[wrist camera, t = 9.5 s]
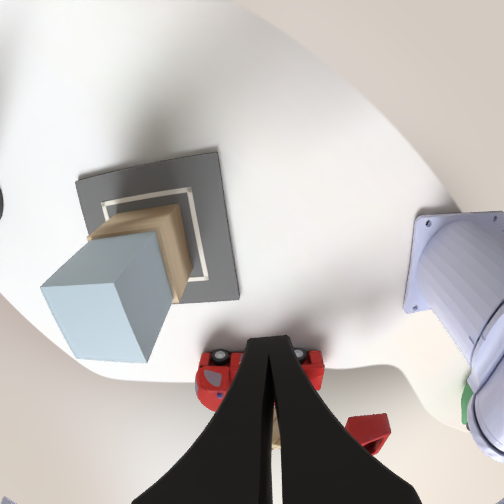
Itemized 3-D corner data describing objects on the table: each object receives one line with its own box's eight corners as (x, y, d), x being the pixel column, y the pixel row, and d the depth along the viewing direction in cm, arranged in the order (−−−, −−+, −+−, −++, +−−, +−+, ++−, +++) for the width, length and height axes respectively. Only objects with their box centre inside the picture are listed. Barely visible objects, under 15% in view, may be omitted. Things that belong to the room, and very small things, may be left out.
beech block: (179, 203, 18) (159, 226, 14) (192, 268, 20) (179, 302, 16) (116, 213, 18) (86, 237, 14) (133, 273, 20) (111, 305, 16)
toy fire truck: (197, 347, 23) (174, 449, 15) (362, 342, 23) (396, 438, 14) (203, 373, 25) (185, 468, 16) (355, 368, 24) (380, 459, 16)
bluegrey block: (173, 298, 16) (147, 363, 11) (112, 301, 16) (76, 358, 12) (155, 230, 14) (113, 282, 10) (91, 239, 14) (39, 287, 10)
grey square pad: (217, 151, 17) (216, 152, 16) (239, 296, 21) (239, 300, 21) (77, 180, 17) (74, 181, 17) (115, 303, 22) (113, 306, 21)
